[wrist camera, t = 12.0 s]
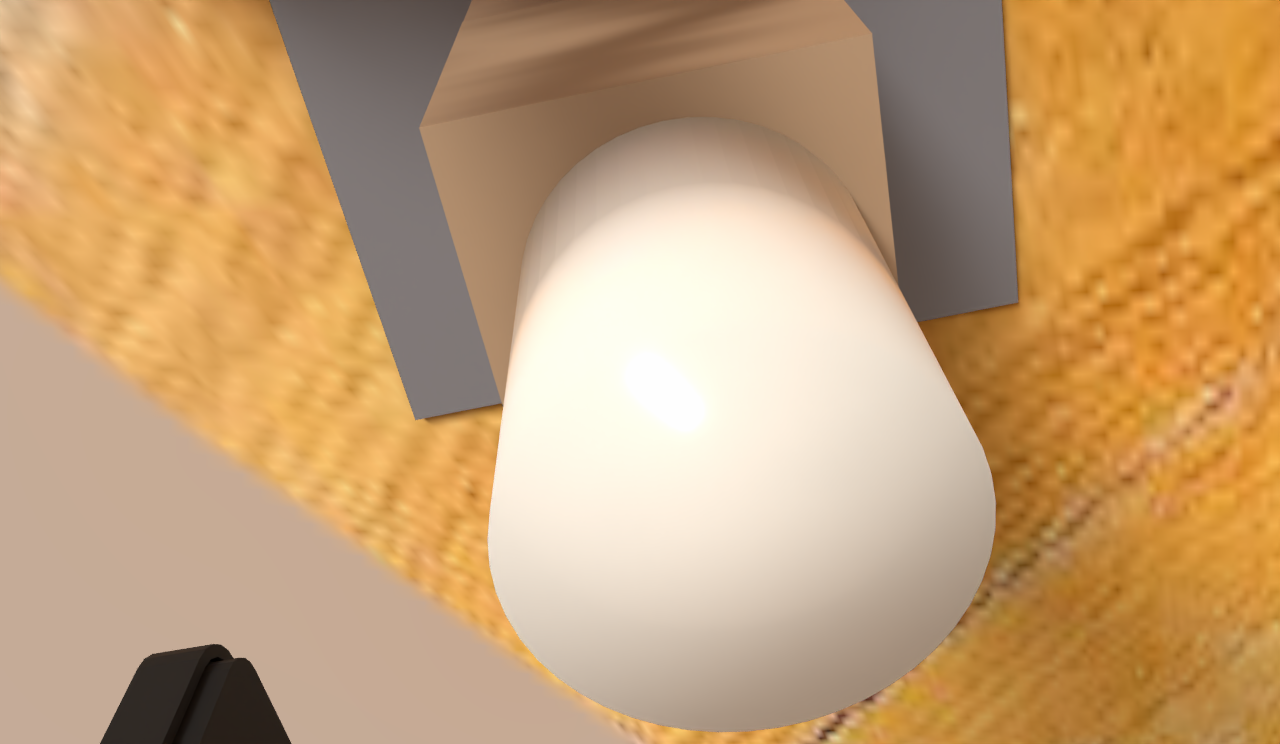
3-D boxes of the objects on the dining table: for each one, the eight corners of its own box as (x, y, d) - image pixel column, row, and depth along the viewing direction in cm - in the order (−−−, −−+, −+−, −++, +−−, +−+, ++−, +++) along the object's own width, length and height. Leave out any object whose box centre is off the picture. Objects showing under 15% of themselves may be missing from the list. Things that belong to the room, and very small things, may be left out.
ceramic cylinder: (851, 82, 16) (979, 272, 10) (888, 403, 18) (1008, 687, 13) (480, 158, 16) (425, 379, 11) (565, 463, 18) (553, 766, 13)
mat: (972, -429, 23) (978, -431, 23) (1013, 295, 31) (1018, 302, 31) (190, -243, 25) (184, -243, 24) (417, 412, 32) (415, 420, 32)
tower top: (801, -51, 21) (872, 33, 15) (842, 263, 24) (912, 423, 18) (462, 21, 21) (419, 127, 16) (543, 321, 24) (529, 494, 19)
